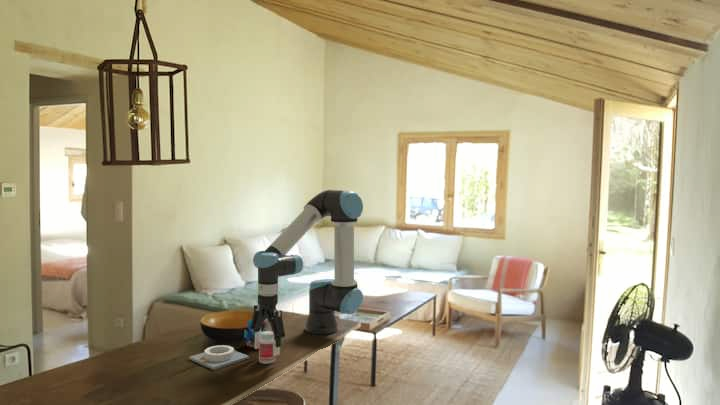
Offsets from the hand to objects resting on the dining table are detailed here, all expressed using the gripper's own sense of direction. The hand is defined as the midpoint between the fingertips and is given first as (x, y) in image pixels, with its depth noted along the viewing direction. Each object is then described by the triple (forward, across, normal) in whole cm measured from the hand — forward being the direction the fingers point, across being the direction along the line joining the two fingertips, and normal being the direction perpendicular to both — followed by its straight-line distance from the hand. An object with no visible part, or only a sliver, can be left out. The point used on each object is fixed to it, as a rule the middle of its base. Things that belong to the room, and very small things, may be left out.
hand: (267, 351), depth 196 cm
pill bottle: (+4, 0, 0) cm, 4 cm away
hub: (+4, -15, -11) cm, 19 cm away
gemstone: (+4, -18, +9) cm, 21 cm away
